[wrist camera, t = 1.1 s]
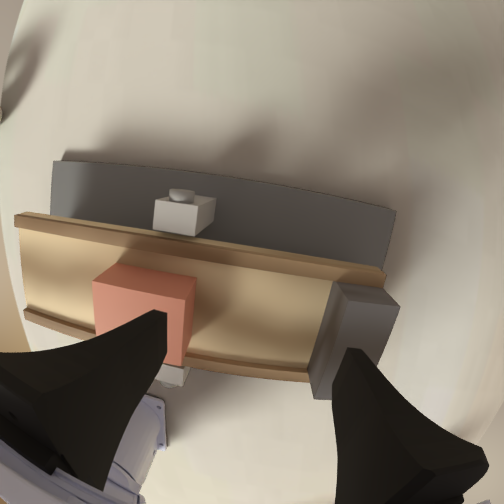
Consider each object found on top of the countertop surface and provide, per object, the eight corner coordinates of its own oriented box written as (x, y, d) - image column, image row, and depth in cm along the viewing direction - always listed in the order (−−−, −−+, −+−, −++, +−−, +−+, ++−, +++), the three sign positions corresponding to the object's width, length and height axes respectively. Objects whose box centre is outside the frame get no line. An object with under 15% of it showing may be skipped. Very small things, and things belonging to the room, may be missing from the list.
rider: (191, 337, 17) (181, 366, 14) (117, 321, 17) (97, 345, 14) (196, 277, 16) (185, 300, 13) (116, 262, 16) (91, 280, 13)
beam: (341, 371, 19) (356, 409, 15) (35, 311, 18) (6, 334, 15) (377, 266, 17) (405, 292, 13) (27, 211, 16) (-10, 222, 12)
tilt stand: (338, 378, 24) (350, 424, 18) (62, 315, 25) (28, 343, 19) (391, 209, 20) (428, 223, 14) (60, 160, 21) (13, 162, 15)
